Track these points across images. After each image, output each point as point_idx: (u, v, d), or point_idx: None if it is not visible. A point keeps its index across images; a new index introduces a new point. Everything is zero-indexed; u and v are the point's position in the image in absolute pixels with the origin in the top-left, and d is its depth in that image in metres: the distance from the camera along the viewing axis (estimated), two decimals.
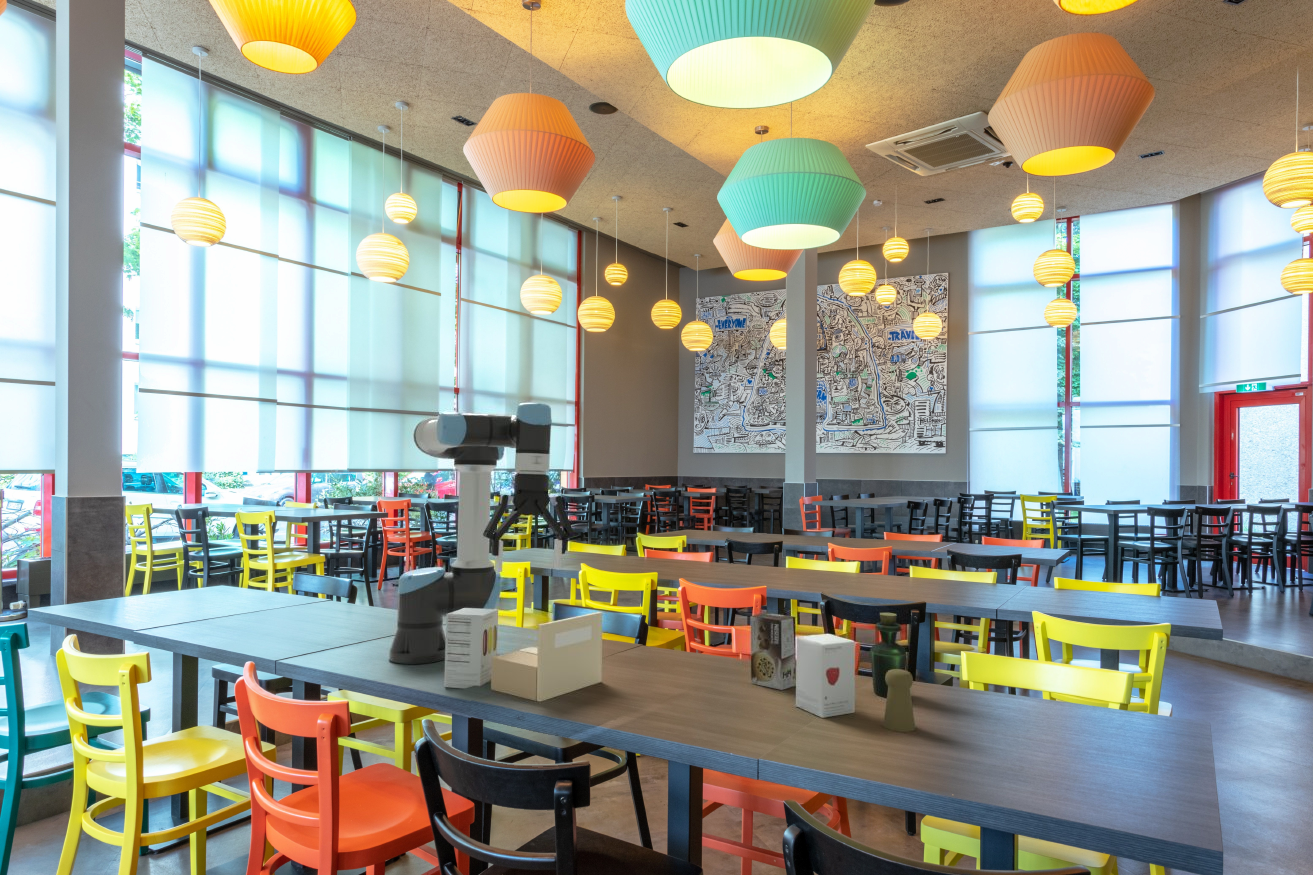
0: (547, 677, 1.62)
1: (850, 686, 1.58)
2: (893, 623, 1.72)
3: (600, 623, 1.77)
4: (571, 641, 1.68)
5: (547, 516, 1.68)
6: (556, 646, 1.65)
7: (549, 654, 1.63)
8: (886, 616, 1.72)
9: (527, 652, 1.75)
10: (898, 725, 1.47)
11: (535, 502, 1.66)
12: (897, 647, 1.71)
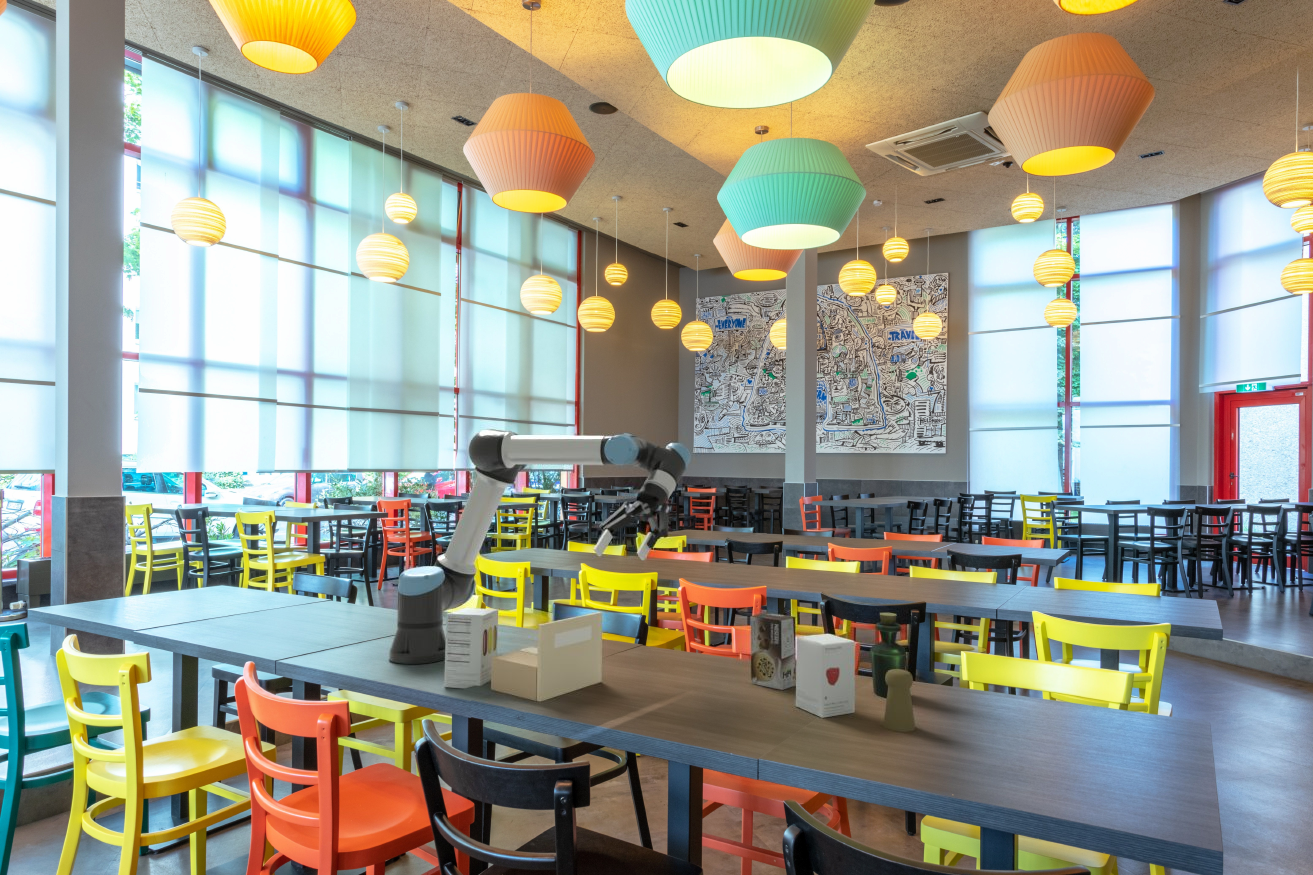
0: (547, 677, 1.62)
1: (850, 686, 1.58)
2: (893, 623, 1.72)
3: (600, 623, 1.77)
4: (571, 641, 1.68)
5: None
6: (556, 646, 1.65)
7: (549, 654, 1.63)
8: (886, 616, 1.72)
9: (527, 652, 1.75)
10: (898, 725, 1.47)
11: None
12: (896, 647, 1.71)
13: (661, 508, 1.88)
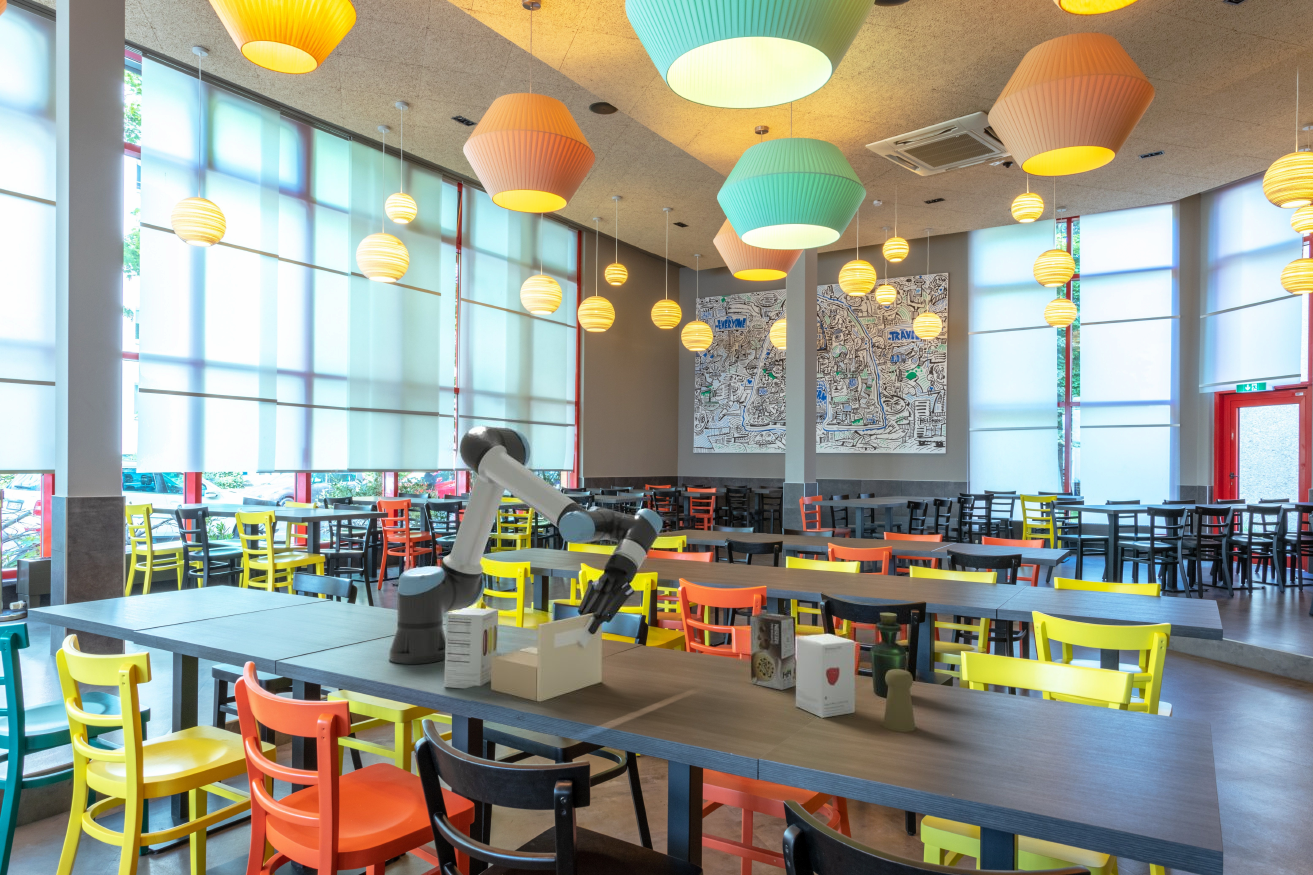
0: (547, 677, 1.62)
1: (850, 686, 1.58)
2: (893, 623, 1.72)
3: None
4: (571, 641, 1.68)
5: None
6: (556, 646, 1.65)
7: (549, 654, 1.63)
8: (886, 616, 1.72)
9: (527, 652, 1.75)
10: (898, 725, 1.47)
11: None
12: (897, 647, 1.71)
13: (622, 588, 1.77)
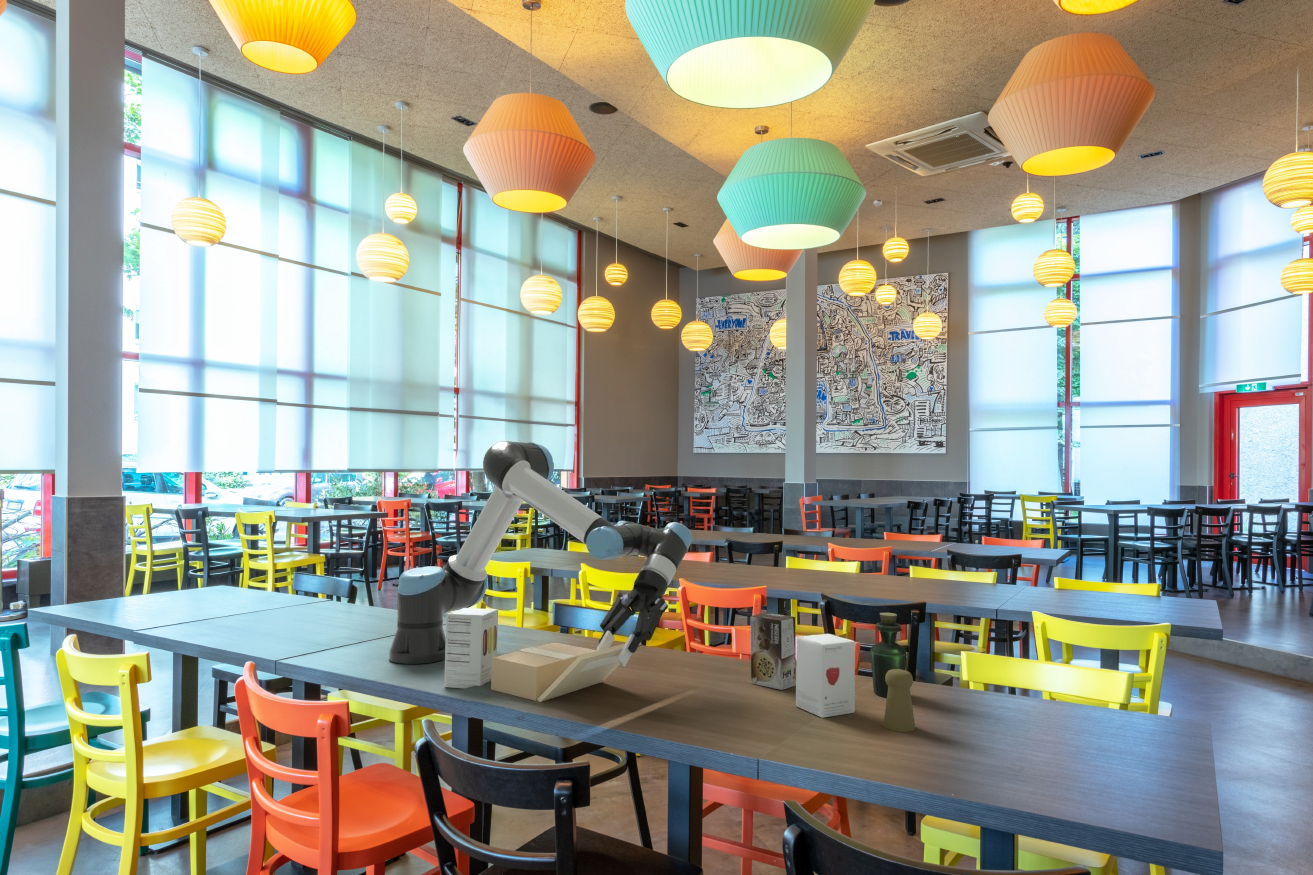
0: (557, 689, 1.60)
1: (850, 686, 1.58)
2: (893, 623, 1.72)
3: None
4: (598, 665, 1.64)
5: None
6: (582, 670, 1.60)
7: (572, 675, 1.59)
8: (886, 616, 1.72)
9: (527, 652, 1.75)
10: (898, 725, 1.47)
11: None
12: (897, 647, 1.71)
13: (656, 604, 1.71)
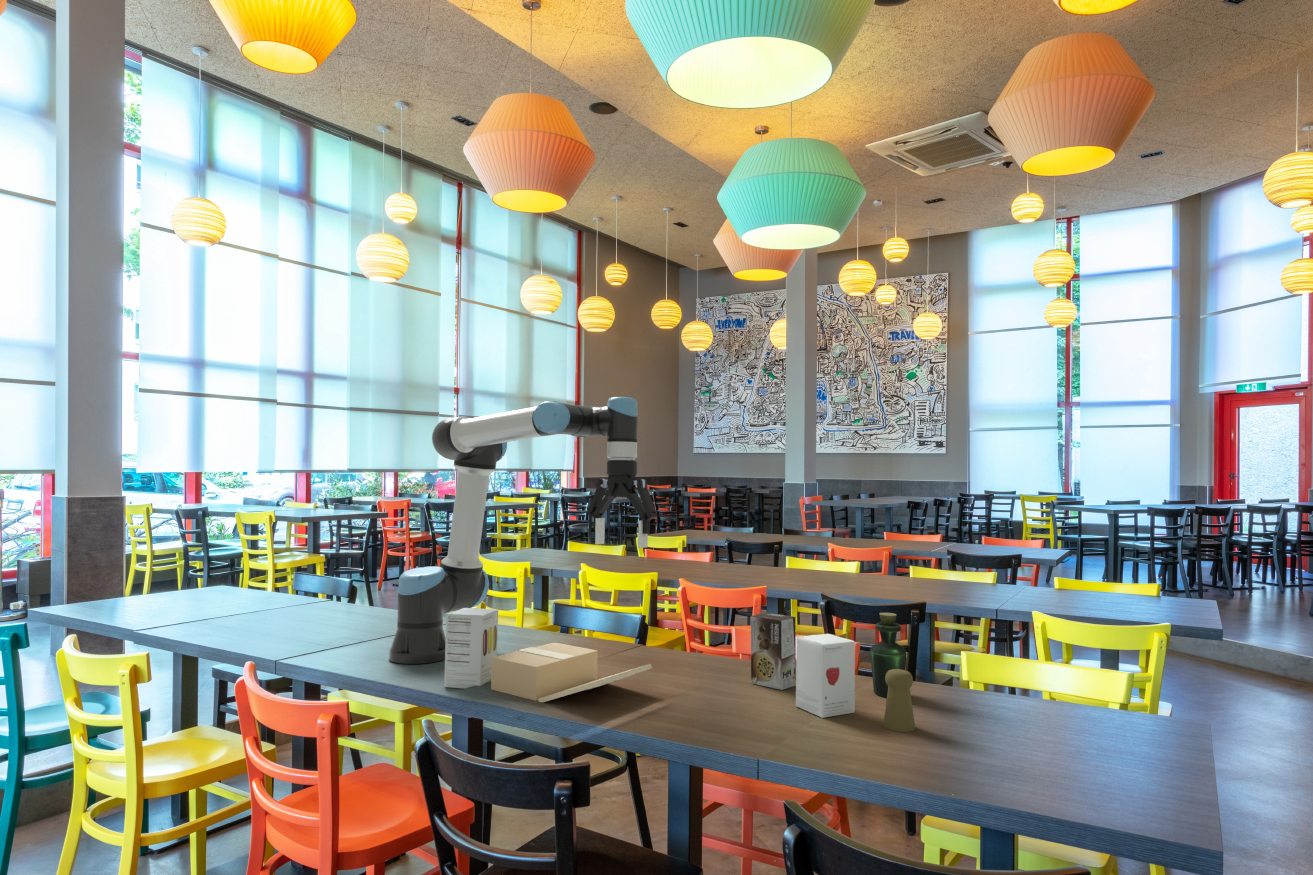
0: None
1: (850, 686, 1.58)
2: (893, 623, 1.72)
3: None
4: None
5: None
6: (589, 688, 1.59)
7: None
8: (886, 616, 1.72)
9: (527, 652, 1.75)
10: (898, 725, 1.47)
11: None
12: (896, 647, 1.71)
13: (638, 487, 1.83)
